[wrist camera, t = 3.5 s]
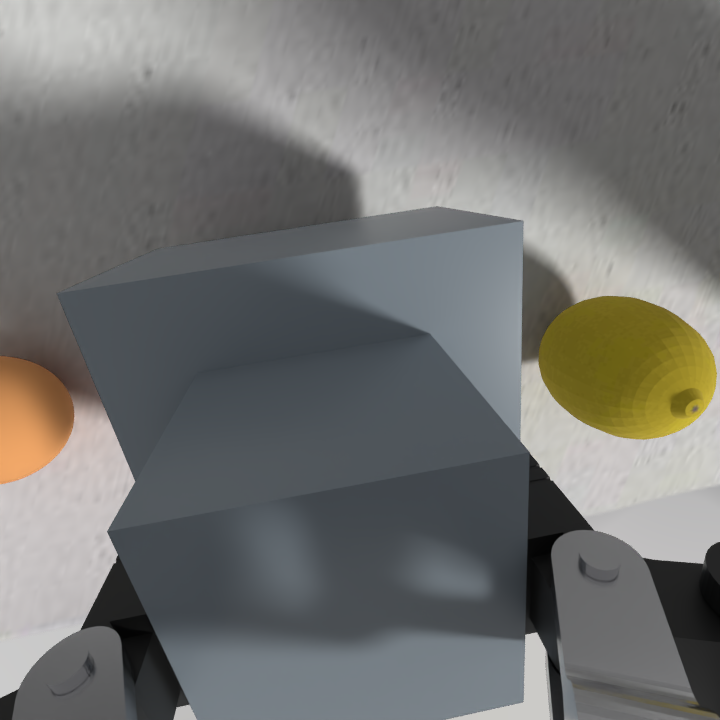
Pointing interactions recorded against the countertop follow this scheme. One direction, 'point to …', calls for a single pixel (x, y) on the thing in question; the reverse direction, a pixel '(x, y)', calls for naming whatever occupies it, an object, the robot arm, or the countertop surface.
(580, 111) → the countertop surface
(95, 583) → the countertop surface
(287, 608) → the gray stepped step block
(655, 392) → the lemon
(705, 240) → the countertop surface
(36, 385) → the brown egg
